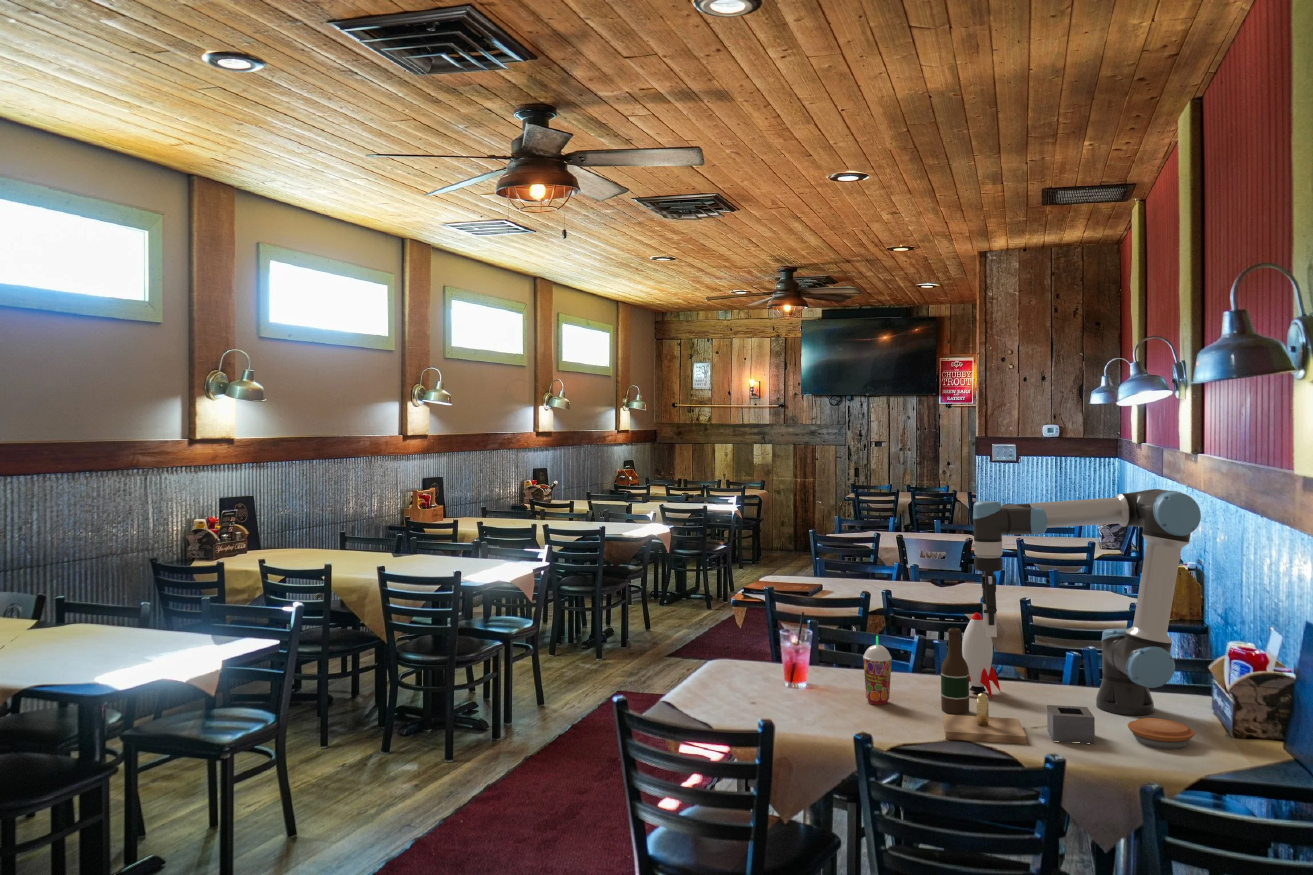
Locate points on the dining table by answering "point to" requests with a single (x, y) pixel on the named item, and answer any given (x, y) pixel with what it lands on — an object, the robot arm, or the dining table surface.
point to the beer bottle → (954, 677)
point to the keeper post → (982, 710)
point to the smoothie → (877, 674)
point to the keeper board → (983, 729)
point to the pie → (1161, 733)
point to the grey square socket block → (1070, 724)
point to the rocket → (979, 656)
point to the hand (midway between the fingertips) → (989, 631)
